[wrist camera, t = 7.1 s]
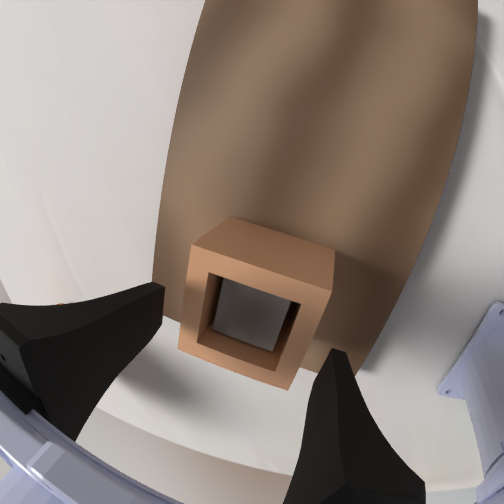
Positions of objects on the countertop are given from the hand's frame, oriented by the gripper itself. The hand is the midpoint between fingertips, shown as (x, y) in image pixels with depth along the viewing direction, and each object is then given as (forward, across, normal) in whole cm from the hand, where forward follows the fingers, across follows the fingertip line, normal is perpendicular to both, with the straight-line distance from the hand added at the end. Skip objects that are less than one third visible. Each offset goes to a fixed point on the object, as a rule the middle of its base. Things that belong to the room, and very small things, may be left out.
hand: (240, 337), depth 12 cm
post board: (+7, 0, -7) cm, 10 cm away
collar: (+5, 0, 0) cm, 5 cm away
